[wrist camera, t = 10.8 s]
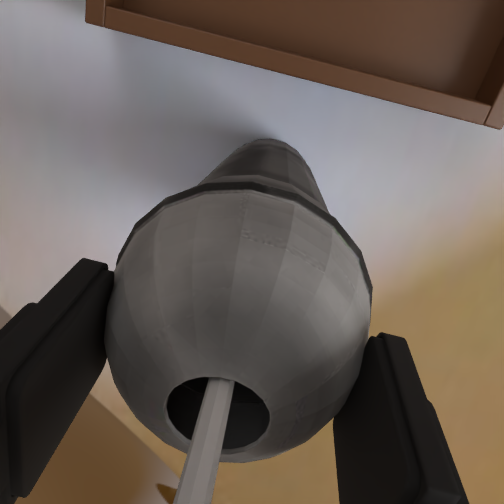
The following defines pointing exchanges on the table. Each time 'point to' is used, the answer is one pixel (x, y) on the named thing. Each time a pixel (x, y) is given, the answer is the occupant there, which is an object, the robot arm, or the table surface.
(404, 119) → the table surface
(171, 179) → the table surface
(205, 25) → the tray
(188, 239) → the beverage cup
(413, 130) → the table surface
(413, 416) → the robot arm
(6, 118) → the table surface
